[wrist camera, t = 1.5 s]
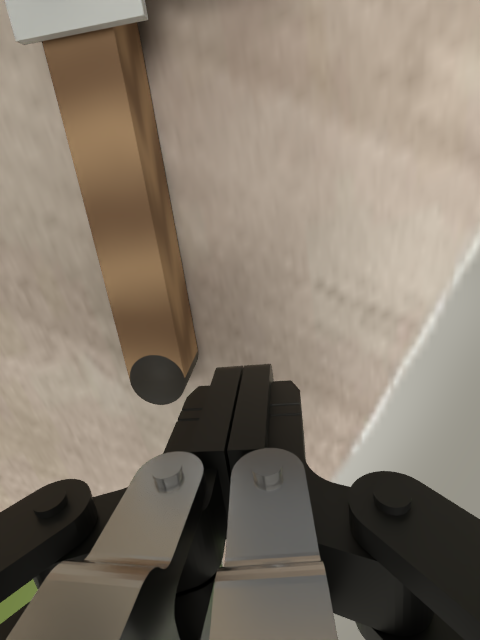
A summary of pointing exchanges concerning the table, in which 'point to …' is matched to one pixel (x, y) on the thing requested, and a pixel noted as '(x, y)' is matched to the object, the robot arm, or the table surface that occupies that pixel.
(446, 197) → the table surface
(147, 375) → the leg
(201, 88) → the table surface
